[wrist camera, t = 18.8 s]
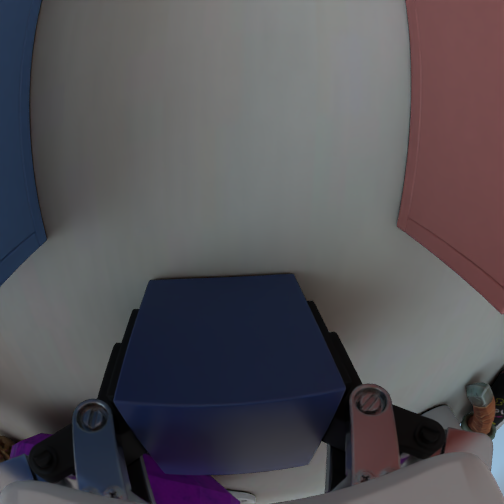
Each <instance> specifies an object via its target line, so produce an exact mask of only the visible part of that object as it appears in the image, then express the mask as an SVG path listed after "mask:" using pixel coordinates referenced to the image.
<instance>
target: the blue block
mask: <svg viewBox="0 0 504 504" xmlns="http://www.w3.org/2000/svg"><path fill="white" fill-rule="evenodd" d="M345 390H346V386H345V384H344V382H343V380H342V377H341V375H340V373H339V371H338V368H337V366H336V364H335V362H334V359H333V357H332V355H331V353H330V351H329V348H328V346H327V344H326V342H325V340H324V337H323V335H322V333H321V331H320V329H319V327H318V324H317V322H316V320H315V318H314V316H313V314H312V311H311V309H310V307H309V305H308V303H307V301H306V299H305V297H304V295H303V292H302V290H301V288H300V286H299V284H298V282H297V280H296V278H295V276H294V274H278V275H259V276H240V277H218V278H194V279H165V280H150V281H149V283H148V285H147V288H146V291H145V294H144V297H143V300H142V303H141V306H140V309H139V312H138V315H137V318H136V321H135V324H134V327H133V330H132V334H131V337H130V340H129V344H128V347H127V350H126V354H125V357H124V361H123V364H122V368H121V372H120V376H119V379H118V383H117V387H116V391H115V395H114V399H113V401H114V404H115V406H116V407H117V409H118V410H119V412H120V413H121V415H122V416H123V418H124V420H125V421H126V423H127V424H128V425H129V427H130V428H131V430H132V431H133V433H134V434H135V436H136V437H137V438H138V440H139V441H140V442H141V444H142V445H143V446H144V448H145V449H146V450H147V452H148V453H149V454H150V456H151V457H152V458H153V459H154V461H155V462H156V463H157V464H158V466H159V467H160V468H161V469H162V470H163V472H164V473H166V474H177V475H229V474H244V473H256V472H265V471H273V470H280V469H287V468H293V467H298V466H304V465H308V464H309V463H310V461H311V459H312V457H313V456H314V454H315V452H316V450H317V448H318V447H319V445H320V443H321V441H322V439H323V437H324V435H325V433H326V431H327V429H328V427H329V425H330V423H331V421H332V419H333V417H334V415H335V413H336V411H337V408H338V406H339V404H340V402H341V400H342V397H343V395H344V393H345Z"/></svg>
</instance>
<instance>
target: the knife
mask: <svg viewBox="0 0 504 504" xmlns="http://www.w3.org/2000/svg"><path fill="white" fill-rule="evenodd" d="M466 389H467V397H468V398H469V400H470V401H471V403H472V405H473V411H474V413H473V412H471V413H469V414H467V415H465V416H463V421H461V428H462V430H466V431H472V432H478V433H484V434H486V435H488V436H489V437H490V438H491V440H492V439H494V437H495V433H496V427H495V426H494V425H493V424H492V422H493V421H494V417H495V411H496V410H495V399H494V395H493V393H492V390H491V388H490V385H488V384H485V383H475V384H471V385H467V388H466Z"/></svg>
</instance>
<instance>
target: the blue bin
mask: <svg viewBox="0 0 504 504" xmlns="http://www.w3.org/2000/svg"><path fill="white" fill-rule="evenodd" d="M41 1H42V0H0V286H1V285H2V284H3V283H4V282H5V281H6V280H7V279H8V278H9V277H10V276H11V274H12V273H13V272H14V271H15V270H16V269H17V268H18V267H19V266H20V265H21V264H22V263H23V262H24V261H25V260H26V259H27V258H28V257H29V256H30V255H31V254H32V253H34V252H35V251H36V250H37V249H38V248H39V247H40V246H41V245H42V244H43V243H44V242H45V241H46V240H47V238H46V234H45V230H44V226H43V222H42V217H41V212H40V207H39V202H38V197H37V191H36V185H35V178H34V171H33V162H32V153H31V140H30V121H29V91H30V71H31V60H32V51H33V43H34V36H35V30H36V24H37V19H38V14H39V10H40V5H41Z"/></svg>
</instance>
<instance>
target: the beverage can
mask: <svg viewBox="0 0 504 504" xmlns="http://www.w3.org/2000/svg"><path fill="white" fill-rule="evenodd" d="M491 390H492V393H493V395H494V399H495V410H496V411H495V417H494V421H493V422H492V424H493V425H494V426H495V427H496V431H497V430H498V429H499V428H500V427H501V426H502V425H503V424H504V370H503V371H502V372H501V373H500V375H499V376H498V378H497V380H496V381H495V383H494V384H493V386H492V387H491Z"/></svg>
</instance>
